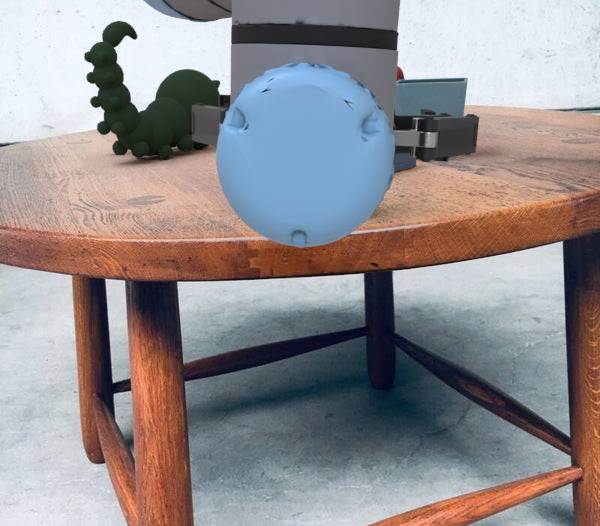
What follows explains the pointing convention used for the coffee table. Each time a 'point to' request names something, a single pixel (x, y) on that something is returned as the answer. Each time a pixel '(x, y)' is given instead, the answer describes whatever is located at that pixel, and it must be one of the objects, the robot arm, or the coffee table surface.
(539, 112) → the coffee table surface
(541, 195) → the coffee table surface
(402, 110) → the flower pot
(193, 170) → the coffee table surface
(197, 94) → the toy figurine
